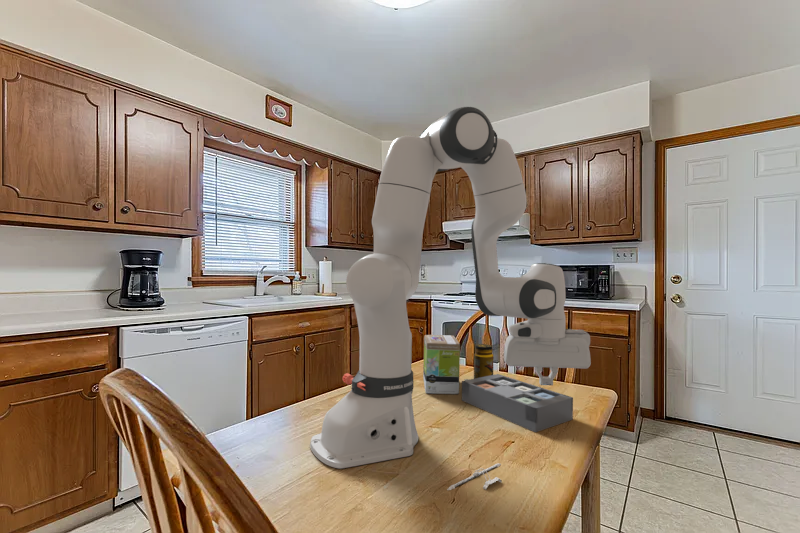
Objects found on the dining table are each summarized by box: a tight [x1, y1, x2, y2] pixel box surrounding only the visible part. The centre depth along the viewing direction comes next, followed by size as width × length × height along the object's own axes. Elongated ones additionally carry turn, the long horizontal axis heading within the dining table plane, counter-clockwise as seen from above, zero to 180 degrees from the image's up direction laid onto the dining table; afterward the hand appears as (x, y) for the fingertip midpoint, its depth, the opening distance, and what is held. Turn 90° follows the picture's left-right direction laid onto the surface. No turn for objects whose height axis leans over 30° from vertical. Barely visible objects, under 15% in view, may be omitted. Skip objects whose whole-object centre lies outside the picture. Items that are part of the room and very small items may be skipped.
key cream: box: [515, 386, 534, 398], centre depth 103 cm, size 4×4×2 cm
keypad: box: [461, 373, 574, 433], centre depth 101 cm, size 14×24×5 cm, turn 33°
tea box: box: [422, 334, 461, 395], centre depth 119 cm, size 15×10×15 cm
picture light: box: [446, 463, 503, 491], centre depth 67 cm, size 14×4×2 cm, turn 128°
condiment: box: [463, 343, 494, 381], centre depth 123 cm, size 7×8×12 cm
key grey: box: [494, 380, 515, 388], centre depth 108 cm, size 4×4×2 cm
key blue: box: [532, 392, 555, 402], centre depth 97 cm, size 4×4×2 cm
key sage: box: [516, 397, 537, 404], centre depth 93 cm, size 4×4×2 cm
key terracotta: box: [477, 384, 494, 389], centre depth 104 cm, size 4×4×2 cm
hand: (546, 384), depth 97 cm, fingers closed
